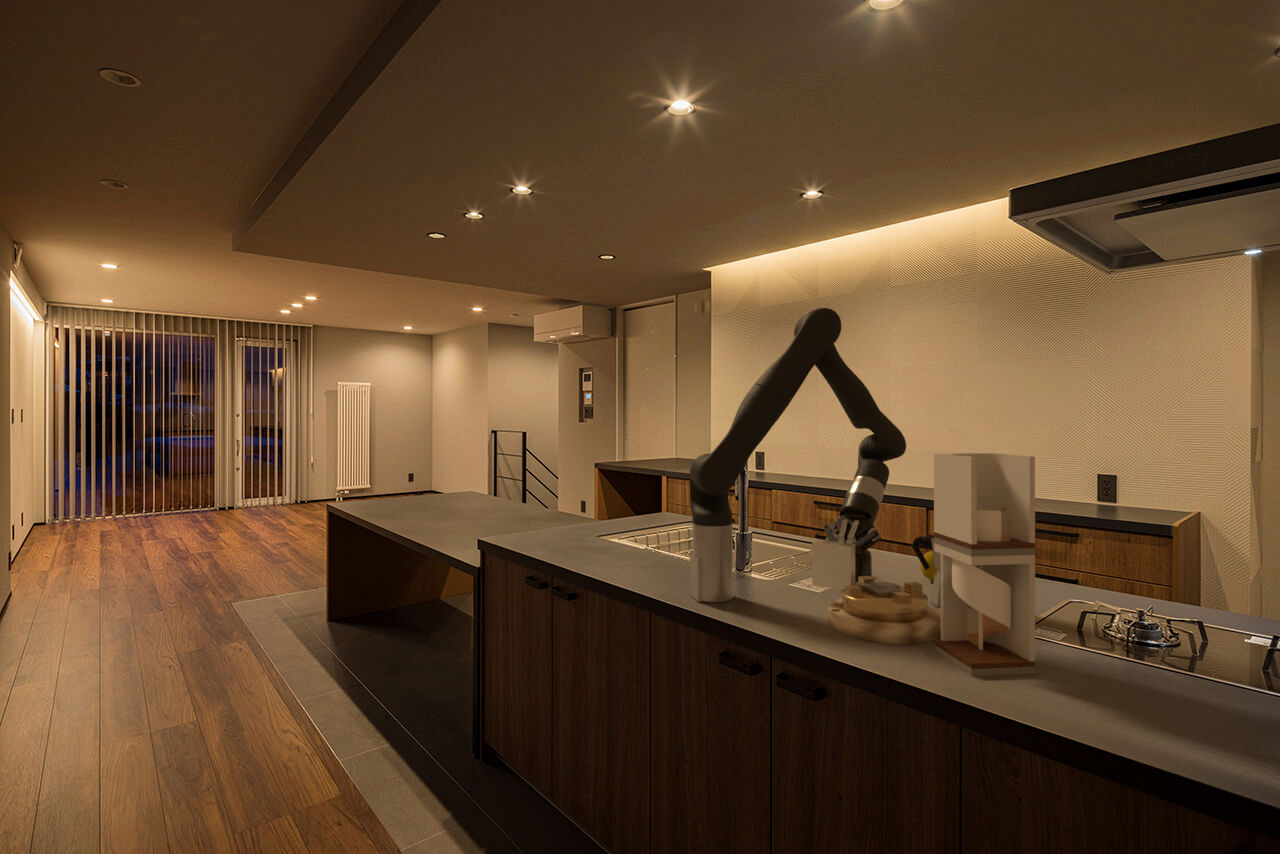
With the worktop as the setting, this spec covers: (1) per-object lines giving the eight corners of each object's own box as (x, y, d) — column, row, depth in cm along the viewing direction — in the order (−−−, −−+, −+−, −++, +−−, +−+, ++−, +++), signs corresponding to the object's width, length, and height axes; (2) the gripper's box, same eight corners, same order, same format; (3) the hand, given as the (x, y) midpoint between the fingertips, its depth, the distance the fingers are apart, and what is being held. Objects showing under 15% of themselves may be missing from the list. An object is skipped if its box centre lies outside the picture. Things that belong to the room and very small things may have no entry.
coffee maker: (989, 606, 143) (988, 524, 142) (976, 615, 136) (976, 529, 136) (919, 594, 153) (918, 517, 153) (904, 602, 146) (904, 522, 146)
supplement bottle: (868, 584, 163) (867, 536, 163) (875, 591, 156) (875, 541, 156) (839, 583, 163) (839, 535, 163) (845, 590, 157) (845, 540, 157)
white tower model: (934, 651, 116) (933, 453, 115) (991, 649, 117) (991, 452, 116) (971, 676, 105) (971, 457, 104) (1035, 673, 105) (1034, 456, 105)
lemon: (943, 580, 166) (943, 548, 166) (945, 585, 161) (945, 553, 161) (919, 578, 168) (919, 547, 168) (921, 583, 163) (921, 551, 163)
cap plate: (865, 648, 117) (865, 630, 117) (810, 614, 138) (809, 599, 138) (966, 638, 122) (966, 621, 122) (898, 607, 143) (898, 592, 142)
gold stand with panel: (935, 606, 132) (935, 545, 132) (917, 627, 119) (916, 560, 119) (827, 590, 145) (827, 535, 144) (800, 607, 131) (800, 547, 131)
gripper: (829, 488, 148) (804, 551, 139) (887, 492, 139) (864, 560, 131) (839, 509, 152) (815, 571, 144) (897, 514, 144) (875, 581, 135)
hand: (839, 566), depth 137 cm, fingers closed
